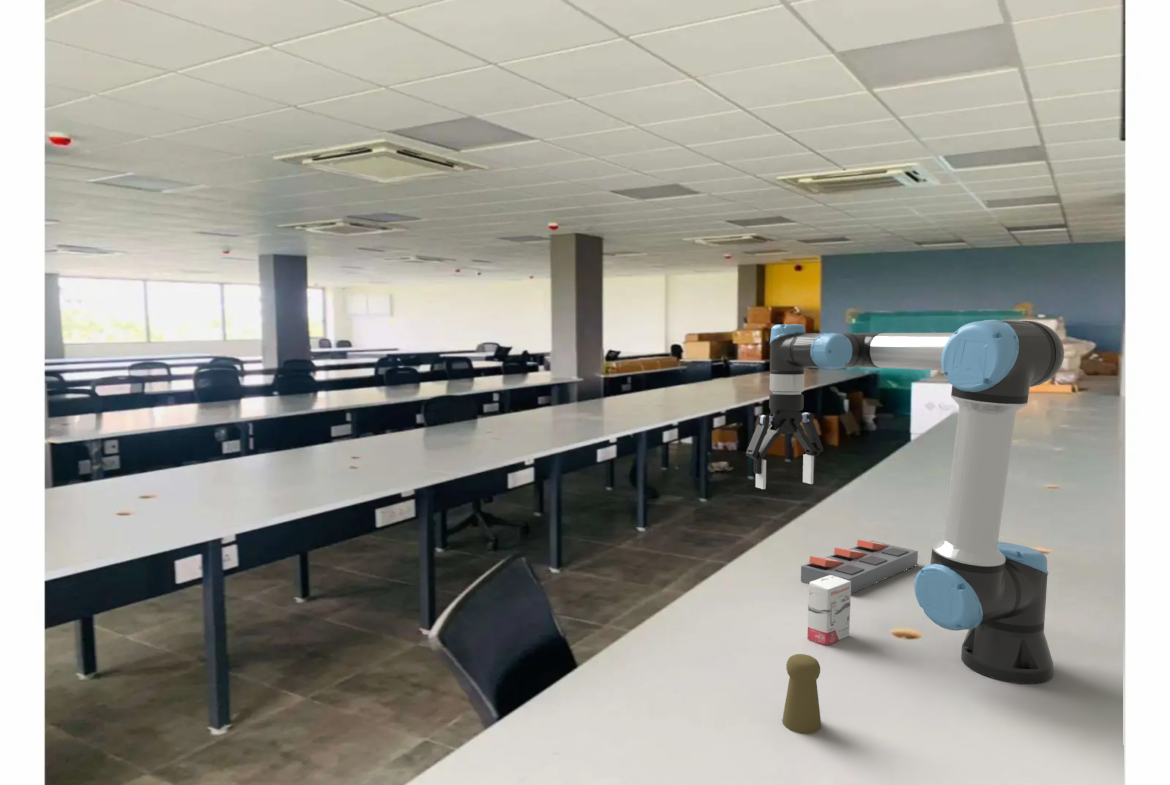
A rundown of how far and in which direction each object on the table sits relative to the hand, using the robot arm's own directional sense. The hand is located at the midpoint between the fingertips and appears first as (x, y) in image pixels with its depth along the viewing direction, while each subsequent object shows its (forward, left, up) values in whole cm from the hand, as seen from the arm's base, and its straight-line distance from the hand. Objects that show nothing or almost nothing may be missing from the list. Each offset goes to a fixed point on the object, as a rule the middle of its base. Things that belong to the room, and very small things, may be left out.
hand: (784, 485), depth 174 cm
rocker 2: (+2, -34, -23) cm, 41 cm away
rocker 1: (+2, -22, -23) cm, 32 cm away
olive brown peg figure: (-34, +44, -28) cm, 62 cm away
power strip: (-1, -38, -27) cm, 47 cm away
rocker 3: (+2, -45, -23) cm, 51 cm away
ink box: (-18, +10, -28) cm, 34 cm away
